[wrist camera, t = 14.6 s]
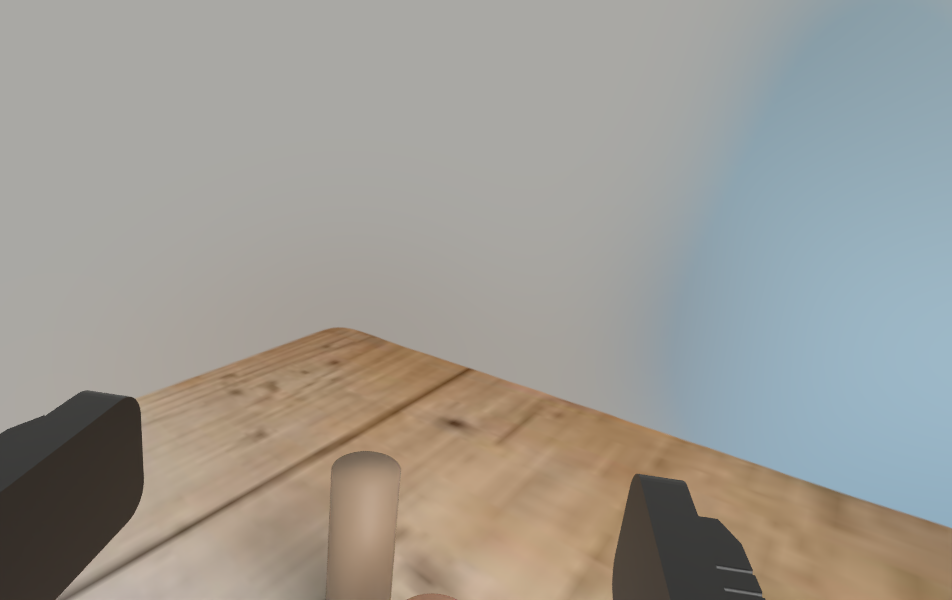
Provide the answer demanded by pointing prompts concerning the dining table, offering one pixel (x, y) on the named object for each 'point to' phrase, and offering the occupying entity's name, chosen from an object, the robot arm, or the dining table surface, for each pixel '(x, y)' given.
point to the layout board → (362, 526)
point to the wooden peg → (431, 597)
